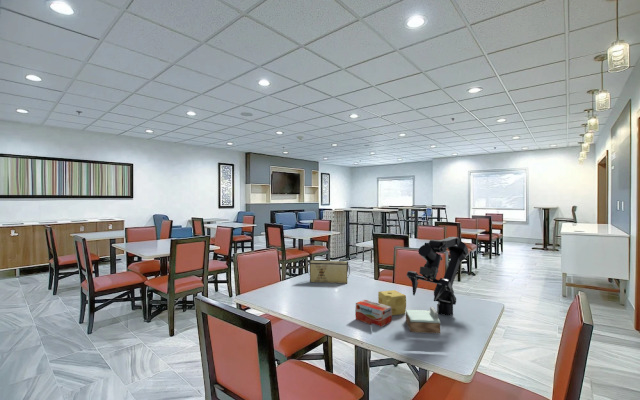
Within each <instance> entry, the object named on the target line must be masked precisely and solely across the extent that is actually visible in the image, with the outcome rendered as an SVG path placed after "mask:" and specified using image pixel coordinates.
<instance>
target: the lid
mask: <svg viewBox="0 0 640 400" xmlns="http://www.w3.org/2000/svg"><path fill="white" fill-rule="evenodd" d="M429 308H430V309H429V310H426V309H424V310H423V309H421V310H420V309H406V311H405V314H406V313H407V315H408V317H409V319H410V321H411V322H429V323H440V324H441V320H440V319H439V314H438V313H437V309H435V308H434V307H433V306H430V307H429Z"/></svg>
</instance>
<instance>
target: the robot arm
mask: <svg viewBox="0 0 640 400" xmlns="http://www.w3.org/2000/svg"><path fill="white" fill-rule="evenodd" d="M447 250H448V251H449V256H450V259H449V262H448V265H447V267H446V270H445V273H444V276H443V278H442V277H440V278H439V279H437V276H438V273H439V268H440V263H441V261H443V256H442V255H441V254H444V253H446V251H447ZM439 253H440V254H439ZM418 254H419V256H420V257H422V258H423V259H424V260H425V264H424V265H423V266H420V267H419V273H417V271H412V270H408V271H407V272H406V277H407V278H408V279H409V280H410V281H411V285H412V287H411V289H412V296H415V295H416V293H417V289H418V285H419V282H418V281H424V282H428V283H433V284H435V288H434V290H433V296H434V297H433V302H437V304H436V312H437V313H438V315H443V316H451V315H452V316H453V315H454V305H456V303H457V297H456V295H455V291H454V288H453V284H454V283H455V278H456V276H457V272H458V271H459V267H460V264H461V262H463V261H464V260H465V259H466V258H467V255H468V254H469V248H468V246H467V244H466V243H464V242H463V241H462V240H461V239H460V238H459V237H458V236H449V237H447V238H443V239H430V240H429V241H428V242H424V244H423V245H421V246H420V247H419V248H418Z"/></svg>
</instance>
